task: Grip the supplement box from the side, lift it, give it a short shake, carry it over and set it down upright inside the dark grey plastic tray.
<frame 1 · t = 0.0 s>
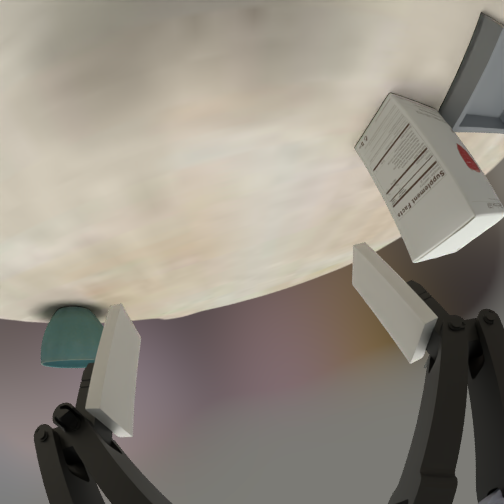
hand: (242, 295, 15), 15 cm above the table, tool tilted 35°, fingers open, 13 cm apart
supplement box: (395, 125, 27), on the table
plant pot: (73, 310, 54), on the table
tray: (493, 76, 19), on the table
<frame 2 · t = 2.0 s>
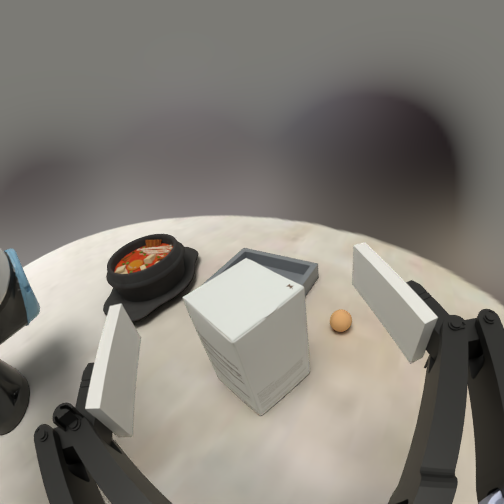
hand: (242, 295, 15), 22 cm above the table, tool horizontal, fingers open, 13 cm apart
supplement box: (262, 377, 35), on the table
casserole: (155, 287, 57), on the table
ball: (340, 328, 39), on the table
tray: (257, 293, 50), on the table
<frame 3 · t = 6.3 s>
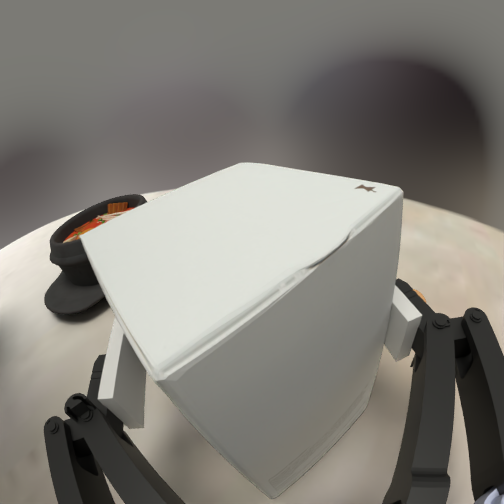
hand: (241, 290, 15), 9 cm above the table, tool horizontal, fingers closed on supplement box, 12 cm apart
supplement box: (275, 418, 17), on the table, touching gripper
casserole: (117, 268, 39), on the table
when the fingers open (10 cm above the table, at t = 13.7 s): supplement box drops 1 cm, resting on tray.
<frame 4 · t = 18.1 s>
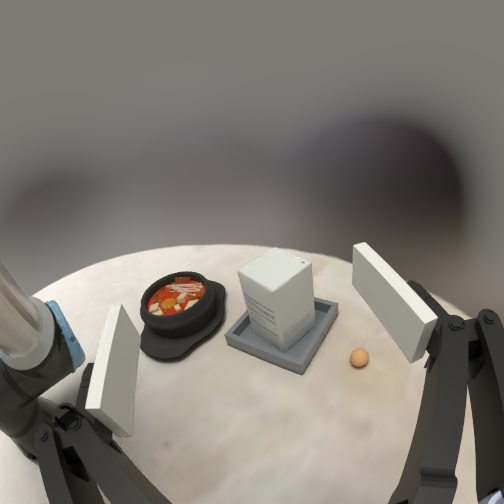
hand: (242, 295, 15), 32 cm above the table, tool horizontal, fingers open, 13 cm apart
supplement box: (283, 329, 54), resting on tray
casserole: (186, 321, 61), on the table
ball: (358, 362, 44), on the table
tray: (284, 330, 54), on the table
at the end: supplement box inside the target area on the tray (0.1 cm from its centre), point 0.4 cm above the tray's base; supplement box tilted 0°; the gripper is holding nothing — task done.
